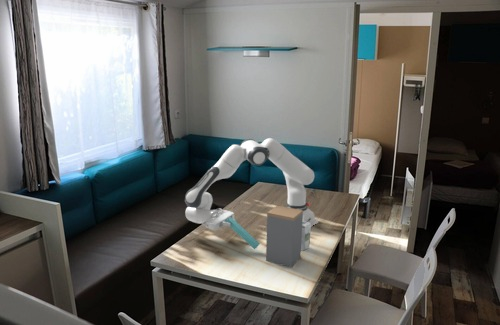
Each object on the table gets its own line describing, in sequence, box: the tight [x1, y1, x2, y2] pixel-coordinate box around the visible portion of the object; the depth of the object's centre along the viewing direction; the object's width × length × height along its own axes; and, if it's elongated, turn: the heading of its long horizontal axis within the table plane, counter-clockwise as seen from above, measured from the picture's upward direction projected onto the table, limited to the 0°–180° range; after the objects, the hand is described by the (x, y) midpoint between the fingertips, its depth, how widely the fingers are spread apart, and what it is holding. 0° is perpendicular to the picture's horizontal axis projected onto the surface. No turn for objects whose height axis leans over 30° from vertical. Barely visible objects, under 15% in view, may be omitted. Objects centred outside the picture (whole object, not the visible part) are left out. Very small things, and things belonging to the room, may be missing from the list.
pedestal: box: [265, 205, 303, 268], centre depth 215 cm, size 14×12×26 cm
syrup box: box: [301, 221, 312, 252], centre depth 230 cm, size 6×6×14 cm
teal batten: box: [227, 218, 261, 250], centre depth 228 cm, size 21×3×3 cm
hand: (233, 223), depth 229 cm, fingers closed on teal batten, 3 cm apart
